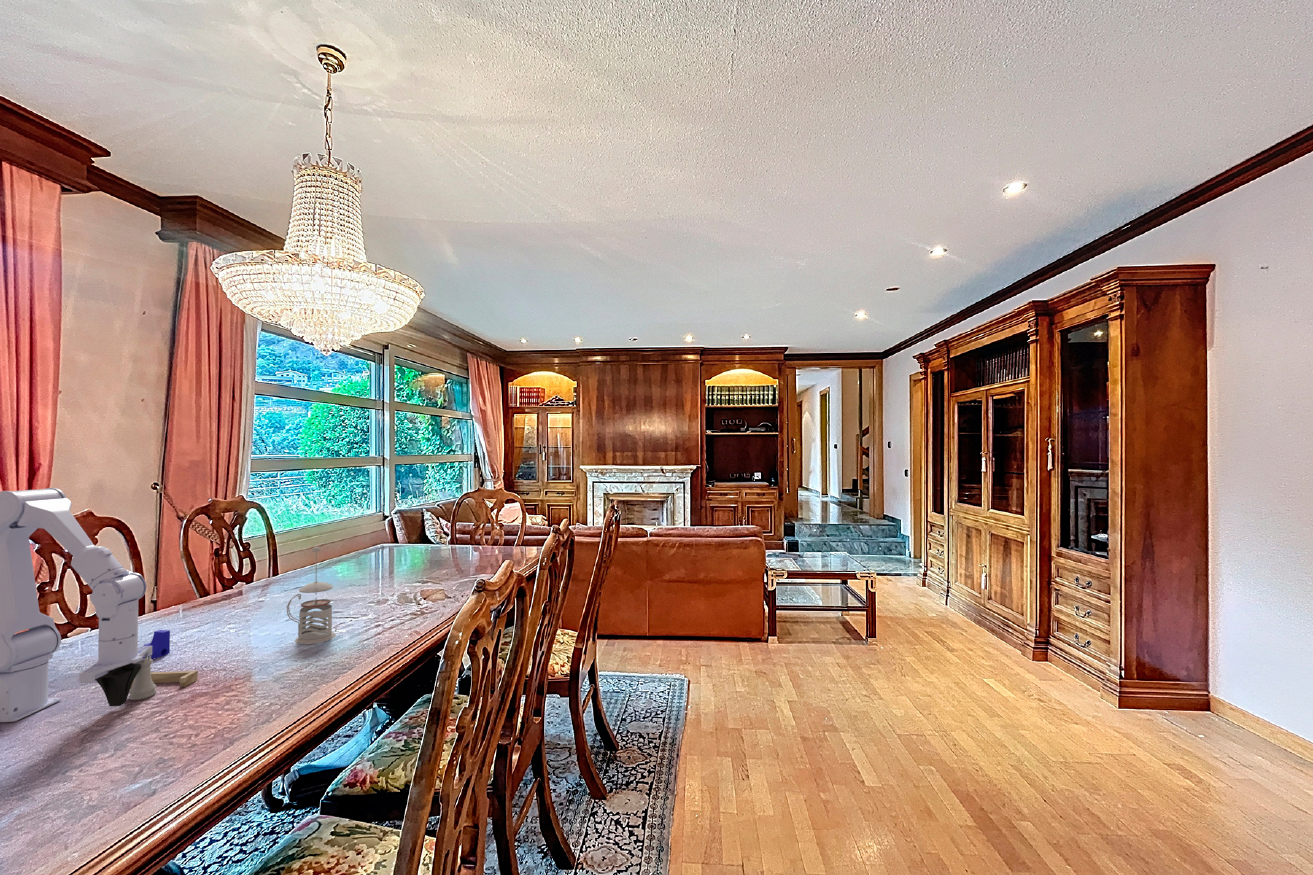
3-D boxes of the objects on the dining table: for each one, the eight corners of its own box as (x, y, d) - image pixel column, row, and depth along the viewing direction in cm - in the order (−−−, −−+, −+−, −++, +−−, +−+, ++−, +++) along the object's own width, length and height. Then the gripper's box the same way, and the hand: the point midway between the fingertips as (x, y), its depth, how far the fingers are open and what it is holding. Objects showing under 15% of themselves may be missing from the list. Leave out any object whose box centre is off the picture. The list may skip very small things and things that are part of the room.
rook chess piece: (154, 689, 122) (154, 652, 122) (158, 695, 119) (159, 657, 119) (126, 696, 118) (126, 658, 118) (130, 703, 115) (130, 663, 115)
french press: (332, 641, 152) (333, 548, 152) (282, 646, 148) (283, 551, 148) (338, 630, 161) (339, 543, 162) (291, 635, 157) (292, 545, 157)
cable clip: (154, 652, 144) (155, 629, 144) (169, 653, 143) (169, 630, 143) (101, 671, 132) (102, 645, 132) (117, 672, 131) (117, 646, 132)
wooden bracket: (184, 686, 123) (184, 677, 123) (130, 689, 122) (130, 679, 122) (197, 679, 127) (197, 670, 127) (145, 681, 126) (145, 672, 126)
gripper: (108, 648, 106) (107, 721, 105) (167, 624, 120) (167, 688, 120) (67, 649, 105) (66, 723, 105) (132, 625, 119) (131, 689, 119)
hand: (117, 704), depth 112 cm, fingers closed
